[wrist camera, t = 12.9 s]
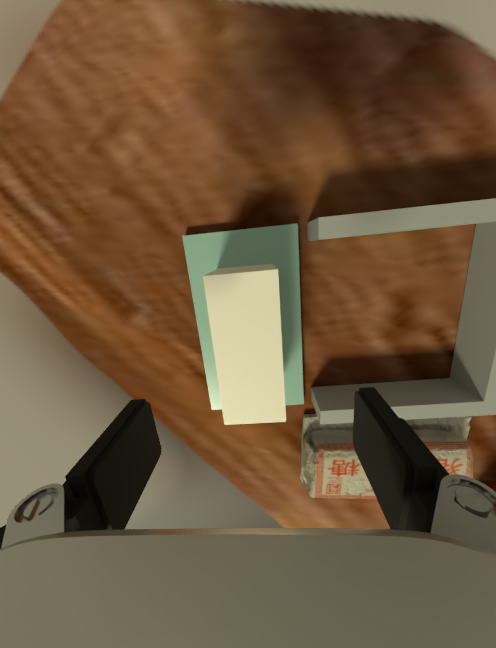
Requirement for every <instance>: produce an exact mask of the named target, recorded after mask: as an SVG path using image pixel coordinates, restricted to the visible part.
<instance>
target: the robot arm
mask: <svg viewBox="0 0 496 648" xmlns="http://www.w3.org/2000/svg"><path fill="white" fill-rule="evenodd" d="M353 446H354V450H355V452H356V454H357V456H358V459H359V461H360V463H361V465H362V467H363V470H364V472H365V474H366V476H367V478H368V480H369V483H370V485H371V487H372V489H373V491H374V494H375V496H376V498H377V500H378V502H379V504H380V507H381V509H382V511H383V513H384V515H385V518H386V520H387V522H388V524H389V526H390V529H354V528H229V529H228V528H227V529H226V528H220V529H133V530H132V529H131V530H130V529H129V530H128V529H127V530H124V529H125V527H126V525H127V523H128V521H129V519H130V517H131V515H132V513H133V511H134V509H135V506H136V504H137V502H138V500H139V498H140V496H141V494H142V492H143V490H144V488H145V486H146V484H147V482H148V480H149V478H150V476H151V474H152V472H153V470H154V468H155V466H156V464H157V462H158V459H159V457H160V455H161V445H160V441H159V438H158V434H157V430H156V426H155V422H154V418H153V414H152V410H151V406H150V403H149V402H146V400H145V399H138V400H131V401H130V402H129V403H128V404H127V405H126V407H125V408H124V409H123V410H122V411H121V412H120V413H119V415H118V416H117V417H116V418H115V419H114V421H113V422H112V423H111V424H110V425H109V426H108V428H107V429H106V430H105V431H104V432H103V433H102V434H101V436H100V437H99V438H98V439H97V440H96V441H95V443H94V444H93V445H92V446H91V447H90V448H89V450H88V451H87V452H86V453H85V454H84V455H83V456H82V458H81V459H80V460H79V461H78V462H77V463H76V465H75V466H74V467H73V468H72V469H71V470H70V472H69V473H68V474H67V475H66V477H65V478H66V482H65V483H64V484H63V485H60V484H49V485H46V486H43V487H41V488H39V489H37V490H35V491H33V492H32V493H30V494H29V495H27V496H26V497H25V498H24V499H22V500H21V501H20V502H19V503H18V504H17V505H16V506H15V508H14V509H13V510H12V512H11V513H10V515H9V518H8V520H7V524H6V525H5V526H3V527H1V528H0V648H496V492H495V491H494V490H492V489H491V488H490V487H488V486H487V485H485V484H484V483H482V482H480V481H478V480H476V479H473V478H470V477H467V476H465V475H458V474H451V475H450V474H449V473H448V472H447V471H446V469H445V468H444V467H443V466H442V464H441V463H440V462H439V461H438V460H437V458H436V457H435V456H434V455H433V454H432V452H431V451H430V450H429V449H428V448H427V446H426V445H425V444H424V443H423V442H422V440H421V439H420V438H419V437H418V435H417V434H416V433H415V432H414V431H413V429H412V428H411V427H410V426H409V425H408V423H407V422H406V421H405V420H404V419H402V418H399V417H398V416H397V415H396V414H395V412H394V411H393V410H392V409H391V407H390V406H389V405H388V404H387V402H386V401H385V400H384V399H383V397H382V396H381V395H380V394H379V392H378V391H377V390H376V389H375V388H374V387H364V388H359V391H356V392H355V395H354V420H353Z"/></svg>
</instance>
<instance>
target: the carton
mask: <svg viewBox="0 0 496 648" xmlns="http://www.w3.org/2000/svg"><path fill="white" fill-rule="evenodd" d="M203 281H204V288H205V295H206V302H207V308H208V315H209V322H210V329H211V336H212V343H213V349H214V356H215V363H216V370H217V377H218V384H219V391H220V397H221V404H222V411H223V418H224V425H231V424H250V423H269V422H286V409H285V390H284V371H283V352H282V333H281V314H280V295H279V277H278V269H277V268H276V267H275V266H274V265H273V264H262V265H251V266H240V267H229V268H219V269H215V270H213V271H212V272H210V273H208V274H206V275H204V276H203Z"/></svg>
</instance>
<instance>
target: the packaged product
mask: <svg viewBox="0 0 496 648" xmlns="http://www.w3.org/2000/svg"><path fill="white" fill-rule="evenodd" d="M471 418H473V417H472V416H464V417H446V418H429V419H411V420H405V421H406V422H407V423H408V425H409V426H410V427H411V428H412V429H413V431H414V432H415V433H416V434H417V435H418V437H419V438H420V439H421V440H422V442H423V443H424V444H425V445H426V446H427V448H428V449H429V450H430V451H431V452H432V454H433V455H434V456H435V457H436V458H437V460H438V461H439V462H440V463H441V464H442V466H443V467H444V468H445V469H446V471H447V472H448V473H449V474H450V475H451V474H458V475H465V476H467V477H470V478H473V467H472V465H473V463H472V462H473V461H474V457H473V452H472V447H471V445H470V444H469V442H467V436H468V433H469V429H470V424H469V421H470V420H471ZM300 479H301V481H302V483H303V484H304V485H305V487H306V488H307V489H308V493H309V496H310V497H312V498H330V499H333V498H337V499H339V498H341V499H343V498H347V499H359V498H360V499H377V498H376V496H375V494H374V491H373V489H372V487H371V485H370V483H369V480H368V478H367V476H366V474H365V472H364V470H363V467H362V465H361V463H360V461H359V459H358V456H357V454H356V452H355V450H354V446H353V423H340V424H322V425H320V422H319V419H318V416H317V414H304V416H303V429H302V458H301V474H300Z"/></svg>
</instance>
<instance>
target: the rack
mask: <svg viewBox="0 0 496 648" xmlns="http://www.w3.org/2000/svg"><path fill="white" fill-rule="evenodd" d="M468 224H476V227H475V233H474V238H473V244H472V250H471V256H470V262H469V267H468V273H467V279H466V285H465V291H464V296H463V302H462V308H461V314H460V320H459V326H458V331H457V337H456V343H455V349H454V355H453V360H452V366H451V372H450V378H442V379H427V380H412V381H397V382H382V383H367V384H352V385H337V386H321V387H311V400H312V403H313V405H314V408H315V411H316V414H317V416H318V419H319V422H320V425H322V424H340V423H353V420H354V395H355V392H356V391H359V388H364V387H374V388H375V389H376V390H377V391H378V392H379V394H380V395H381V396H382V397H383V399H384V400H385V401H386V402H387V404H388V405H389V406H390V407H391V409H392V410H393V411H394V412H395V414H396V415H397V416H398V417H399V418H402V419H404V420H411V419H429V418H446V417H464V416H482V415H496V198H493V199H484V200H475V201H466V202H457V203H448V204H438V205H429V206H420V207H411V208H402V209H393V210H383V211H374V212H365V213H356V214H347V215H338V216H328V217H319V218H317V219H315V220H313V221H310V222H308V223H307V235H308V241H313V240H323V239H333V238H342V237H352V236H362V235H371V234H381V233H391V232H400V231H410V230H420V229H429V228H439V227H449V226H458V225H468Z"/></svg>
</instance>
